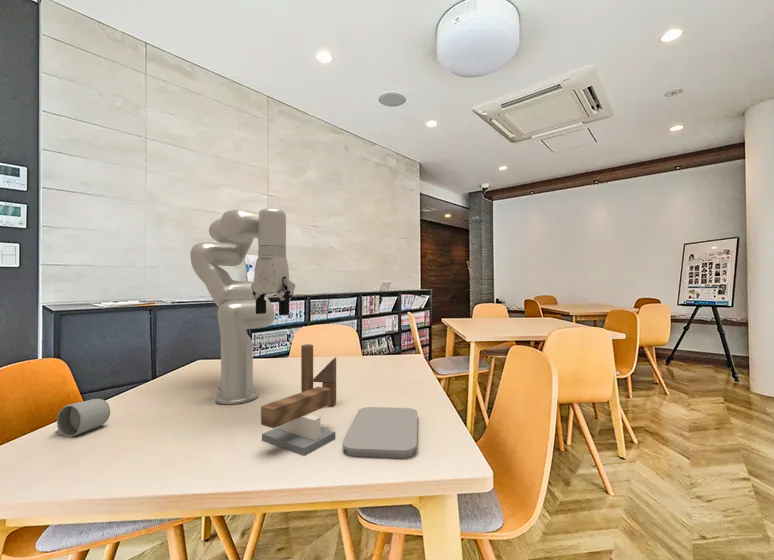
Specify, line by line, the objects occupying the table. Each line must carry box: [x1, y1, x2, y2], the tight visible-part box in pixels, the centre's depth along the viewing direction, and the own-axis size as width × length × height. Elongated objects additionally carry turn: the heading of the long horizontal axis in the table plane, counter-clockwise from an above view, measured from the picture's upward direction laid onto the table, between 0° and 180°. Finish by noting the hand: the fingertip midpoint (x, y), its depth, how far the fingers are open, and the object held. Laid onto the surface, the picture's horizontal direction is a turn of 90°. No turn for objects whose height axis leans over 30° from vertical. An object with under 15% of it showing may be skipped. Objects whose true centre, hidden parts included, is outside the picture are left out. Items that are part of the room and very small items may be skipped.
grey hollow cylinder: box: [56, 398, 111, 438], centre depth 91 cm, size 11×8×8 cm
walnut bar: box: [260, 386, 330, 429], centre depth 85 cm, size 18×4×4 cm, turn 147°
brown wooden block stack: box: [300, 344, 337, 407], centre depth 110 cm, size 4×11×18 cm, turn 83°
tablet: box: [342, 406, 418, 459], centre depth 88 cm, size 16×26×2 cm, turn 175°
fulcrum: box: [261, 413, 336, 456], centre depth 85 cm, size 14×10×6 cm
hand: (272, 314), depth 101 cm, fingers open, 9 cm apart
